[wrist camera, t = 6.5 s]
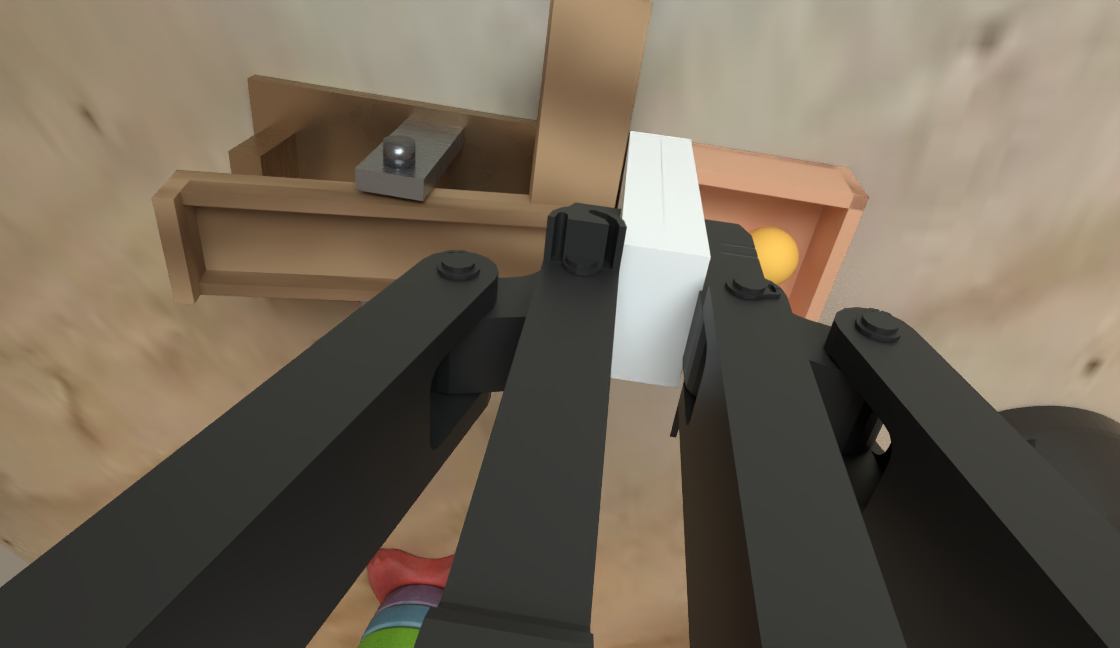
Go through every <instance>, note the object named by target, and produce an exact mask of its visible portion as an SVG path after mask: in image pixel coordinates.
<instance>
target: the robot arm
mask: <svg viewBox="0 0 1120 648" xmlns="http://www.w3.org/2000/svg"><path fill="white" fill-rule="evenodd" d="M498 274H499V272H498V269H497V265H496V264H495V263H494V262H492V261H491V260H490V259H489V258H487V257H484V256H482V255H479V254H477V253H471V252H467V251H465V250H457V251H455V250H447V251H444V252H440V253H435V254H432V255H430V256H428V257H426V258H424V259H422V260H421V261H420V262H418V263H417V264H416V265H414V266H413V267H412V268H411V269H409V270H408V271H407V272H405V273H404V274H403V275H402V276H400V277H399V278H398V279H396V280H395V281H394V282H393V283H391V284H390V285H389V286H387V287H386V288H385V289H384V290H382V291H381V292H380V293H378V294H377V295H376V296H375V297H373V298H372V299H371V300H369V301H368V302H367V303H366V304H364V305H363V306H362V307H360V308H359V309H358V310H357V311H355V312H354V313H353V314H351V315H350V316H349V317H348V318H346V319H345V320H344V321H342V322H341V323H340V324H339V325H337V326H336V327H335V328H333V329H332V330H331V331H330V332H328V333H327V334H326V335H324V336H323V337H322V338H321V339H319V340H318V341H317V342H315V343H314V344H313V345H312V346H310V347H309V348H308V349H306V350H305V351H304V352H303V353H301V354H300V355H299V356H297V357H296V358H295V359H294V360H292V361H291V362H290V363H288V364H287V365H286V366H285V367H283V368H282V369H281V370H279V371H278V372H277V373H276V374H274V375H273V376H272V377H270V378H269V379H268V380H267V381H265V382H264V383H263V384H261V385H260V386H259V387H258V388H256V389H255V390H254V391H252V392H251V393H250V394H249V395H247V396H246V397H245V398H243V399H242V400H241V401H240V402H238V403H237V404H236V405H234V406H233V407H232V408H231V409H229V410H228V411H227V412H225V413H224V414H223V415H222V416H220V417H219V418H218V419H217V420H215V421H214V422H213V423H211V424H210V425H209V426H208V427H206V428H205V429H204V430H202V431H201V432H200V433H199V434H197V435H196V436H195V437H193V438H192V439H191V440H190V441H188V442H187V443H186V444H184V445H183V446H182V447H181V448H179V449H178V450H177V451H175V452H174V453H173V454H172V455H170V456H169V457H168V458H166V459H165V460H164V461H163V462H161V463H160V464H159V465H157V466H156V467H155V468H154V469H152V470H151V471H150V472H148V473H147V474H146V475H145V476H143V477H142V478H141V479H139V480H138V481H137V482H136V483H134V484H133V485H132V486H130V487H129V488H128V489H127V490H125V491H124V492H123V493H121V494H120V495H119V496H118V497H116V498H115V499H114V500H112V501H111V502H110V503H109V504H107V505H106V506H105V507H103V508H102V509H101V510H100V511H98V512H97V513H96V514H94V515H93V516H92V517H91V518H89V519H88V520H87V521H85V522H84V523H83V524H82V525H80V526H79V527H78V528H76V529H75V530H74V531H73V532H71V533H70V534H69V535H67V536H66V537H65V538H64V539H62V540H61V541H60V542H58V543H57V544H56V545H55V546H53V547H52V548H51V549H49V550H48V551H47V552H46V553H44V554H43V555H42V556H40V557H39V558H38V559H37V560H35V561H34V562H33V563H31V564H30V565H29V566H28V567H26V568H25V569H24V570H22V571H21V572H20V573H19V574H17V575H16V576H15V577H13V578H12V579H11V580H10V581H8V582H7V583H6V584H4V585H3V586H2V587H1V588H0V648H305V647H306V646H307V644H308V643H309V642H310V640H311V639H312V638H313V636H314V635H315V634H316V633H317V631H318V630H319V629H320V627H321V626H322V625H323V623H324V622H325V621H326V619H327V618H328V617H329V615H330V614H331V613H332V611H333V610H334V609H335V607H336V606H337V605H338V603H339V602H340V601H341V599H342V598H343V597H344V595H345V594H346V593H347V591H348V590H349V589H350V587H351V586H352V585H353V583H354V582H355V581H356V579H357V578H358V577H359V575H360V574H361V573H362V571H363V570H364V569H365V567H366V566H367V565H368V563H369V562H370V561H371V559H372V558H373V557H374V555H375V554H376V553H377V551H378V550H379V549H380V547H381V546H382V545H383V544H384V542H385V541H386V540H387V538H388V537H389V536H390V534H391V533H392V532H393V530H394V529H395V528H396V526H397V525H398V524H399V522H400V521H401V520H402V518H403V517H404V516H405V514H406V513H407V512H408V510H409V509H410V508H411V506H412V505H413V504H414V502H415V501H416V500H417V498H418V497H419V496H420V494H421V493H422V492H423V490H424V489H425V488H426V486H427V485H428V484H429V482H430V481H431V480H432V478H433V477H434V476H435V474H436V473H437V472H438V470H439V469H440V468H441V466H442V465H443V464H444V462H445V461H446V460H447V458H448V457H449V456H450V455H451V453H452V452H453V451H454V449H455V448H456V447H457V445H458V444H459V443H460V441H461V440H462V439H463V437H464V436H465V435H466V433H467V432H468V431H469V429H470V428H471V427H472V425H473V424H474V423H475V421H476V420H477V419H478V417H479V416H480V415H481V413H482V412H483V411H484V409H485V408H486V407H487V405H488V403H489V400H490V398H491V392H499V391H504V392H503V396H502V399H501V402H500V406H499V409H498V412H497V416H496V419H495V422H494V426H493V429H492V432H491V436H490V439H489V442H488V446H487V449H486V452H485V456H484V459H483V462H482V466H481V469H480V472H479V476H478V479H477V482H476V486H475V489H474V492H473V496H472V499H471V502H470V506H469V509H468V512H467V516H466V519H465V522H464V526H463V529H462V532H461V535H460V539H459V542H458V545H457V549H456V552H455V555H454V559H453V562H452V565H451V569H450V572H449V575H448V579H447V582H446V585H445V589H444V592H443V595H442V597H441V600H440V602H439V604H438V606H437V607H430V608H429V610H428V612H427V614H426V615H425V617H424V620H423V622H422V625H421V628H420V630H419V633H418V636H417V639H416V642H415V645H414V648H594V643H593V634H592V633H590V622H591V608H592V596H593V584H594V572H595V560H596V548H597V536H598V523H599V511H600V499H601V487H602V475H603V463H604V451H605V439H606V427H607V415H608V403H609V390H610V378H615V379H622V380H628V381H634V382H641V383H647V384H654V385H660V386H667V387H673V388H678V384H679V381H680V377H681V373H682V369H683V371H684V383H683V387H682V391H681V395H680V399H679V403H678V407H677V411H676V414H675V418H674V422H673V426H672V430H671V434H670V437H676V436H677V433H678V430H679V432H680V453H681V474H682V494H683V515H684V535H685V556H686V576H687V597H688V618H689V638H690V648H1120V423H1118V422H1116V421H1114V420H1112V419H1111V418H1108V417H1106V416H1104V415H1101V414H1098V413H1095V412H1092V411H1088V410H1083V409H1078V408H1072V407H1062V406H1035V407H1025V408H1017V409H1012V410H1007V411H1002V412H997V411H996V410H995V409H994V408H993V407H992V406H991V405H990V404H989V403H988V402H987V401H986V400H985V399H984V398H983V397H982V396H981V395H980V394H979V393H978V392H977V391H976V390H975V389H974V388H973V387H972V386H971V385H970V384H969V383H968V382H967V381H966V380H965V379H964V378H963V377H962V376H961V375H960V374H959V373H958V372H957V371H956V370H955V369H954V368H953V367H952V366H951V365H950V364H949V363H948V362H947V361H946V360H945V359H944V358H943V357H942V356H941V355H940V354H938V353H937V352H936V351H935V350H934V349H933V348H932V347H931V346H930V345H929V344H928V343H927V342H926V341H925V340H924V339H923V338H922V337H921V336H920V335H919V334H918V333H917V332H916V331H915V330H914V329H913V328H911V327H910V326H909V325H907V324H906V323H905V322H904V321H902V320H900V319H897V318H895V317H893V316H892V315H891V314H890V313H887V312H884V311H881V312H880V311H879V310H878V309H873V308H868V309H867V308H859V307H854V308H844V309H843V310H841V311H839V312H837V313H836V315H835V318H834V321H833V323H832V326H827V325H824V324H821V323H818V322H815V321H811V320H808V319H806V318H803V317H800V316H798V315H795V314H794V313H793V312H792V309H791V307H790V304H789V301H788V298H787V295H786V294H785V292H784V291H783V290H782V288H781V287H779V286H778V285H776V284H775V283H773V282H772V281H770V280H768V279H765V278H764V274H763V271H762V268H761V265H760V261H759V259H758V255H757V251H756V249H755V245H754V241H753V238H752V235H751V234H749V233H748V232H747V231H746V230H745V229H744V228H743V227H742V226H741V225H739V224H735V223H728V222H721V221H714V220H707V219H704V214H703V208H702V203H701V197H700V191H699V185H698V179H697V173H696V167H695V161H694V155H693V149H692V143H691V139H685V138H677V137H670V136H663V135H656V134H649V133H641V132H634V131H630V137H629V143H628V150H627V156H626V162H625V168H624V174H623V181H622V187H621V193H620V199H619V205H618V208H611V207H604V206H597V205H590V204H583V203H576V202H575V203H574V204H572V205H571V206H567V207H561V208H558V209H555V210H553V211H552V212H551V213H550V214H549V215H548V218H547V228H546V238H545V247H544V257H543V263H542V266H541V269H540V271H538V272H536V273H533V274H530V275H526V276H521V277H504V278H498ZM883 424H884V425H885V427H886V429H887V430H888V432H889V434H890V438H891V444H890V446H889V448H888V449H887V450H886V452H884V451H883V450H882V449H881V447H880V446H879V445H878V443H877V442H876V441H875V440H876V438H877V436H878V433H879V431H880V429H881V427H882V425H883Z"/></svg>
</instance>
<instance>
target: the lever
mask: <svg viewBox="0 0 1120 648" xmlns="http://www.w3.org/2000/svg"><path fill="white" fill-rule="evenodd" d="M652 6H653V3H652V2H650V1H649V0H551V1H550V10H549V19H548V28H547V37H546V46H545V56H544V65H543V74H542V83H541V92H540V101H539V110H538V119H537V128H536V137H535V146H534V155H533V164H532V173H531V182H530V191H529V195H524V194H510V193H496V192H482V191H468V190H453V189H439V188H432V190H431V191H430V193H429V194H428V195H427V197H426V198H425V199H424V201H419V200H413V199H407V198H401V197H395V196H389V195H383V194H377V193H371V192H365V191H359V190H356V183H355V182H340V181H326V180H312V179H298V178H284V177H270V176H256V175H242V174H227V173H213V172H199V171H185V170H177V171H176V172H175V173H174V174H173V175H172V176H171V177H170V178H169V180H168V181H167V182H166V183H165V184H164V185H163V186H162V187H161V188H160V189H159V191H158V192H157V193H156V194H155V195H154V196H153V197H152V202H153V206H154V211H155V215H156V220H157V224H158V229H159V234H160V238H161V243H162V247H163V252H164V256H165V261H166V265H167V270H168V274H169V279H170V283H171V288H172V292H173V297H174V301H175V303H181V304H195V302H196V301H197V299H198V297H199V296H200V295H224V296H249V297H273V298H298V299H322V300H347V301H369V300H371V299H372V298H373V297H375V296H376V295H377V294H378V293H380V292H381V291H382V290H384V289H385V288H386V287H387V286H389V285H390V284H391V283H393V282H394V281H395V280H396V279H398V278H399V277H400V276H402V275H403V274H404V273H405V272H407V271H408V270H409V269H411V268H412V267H413V266H414V265H416V264H417V263H418V262H420V261H421V260H422V259H424V258H426V257H428V256H430V255H432V254H435V253H440V252H444V251H447V250H455V251H457V250H465V251H467V252H471V253H477V254H479V255H482V256H484V257H487V258H489V259H490V260H491V261H492V262H494V263H495V264H496V265H497V269H498V272H499V274H498V278H504V277H521V276H526V275H530V274H533V273H536V272H538V271H540V269H541V266H542V263H543V257H544V247H545V238H546V228H547V218H548V215H549V214H550V213H551V212H552V211H553V210H555V209H558V208H561V207H567V206H571V205H572V204H574V203H575V202H576V203H583V204H590V205H597V206H604V207H611V208H615V202H616V197H617V192H618V187H619V181H620V176H621V171H622V165H623V160H624V155H625V149H626V144H627V139H628V133H629V128H630V123H631V118H632V112H633V107H634V102H635V96H636V91H637V86H638V80H639V75H640V70H641V64H642V59H643V54H644V49H645V43H646V38H647V33H648V27H649V22H650V17H651V11H652Z"/></svg>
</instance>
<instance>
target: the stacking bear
mask: <svg viewBox="0 0 1120 648" xmlns="http://www.w3.org/2000/svg"><path fill="white" fill-rule="evenodd" d="M454 555H455V554H454ZM454 555H452V556H449V557H446V558H442V559H424V558H419V557H415V556H412V555H410V554H408V553H405V552H403V551H400V550H397V549H380V550H378V551H377V553H376V554H375V555H374V557H373V558H372V559H371V561H370V562H369V563H368V566H367V571H368V577H369V581H370V584H371V587H372V590H373V591H374V593H375V595H376V597H377V599H378V601H379V602H380V604H381V605H380V606H379V608H378V610H377V612H376V613H375V615H374V617H373V618H372V620H371V621H370V623H369V625H368V627H367V628H366V630H365V632H364V634H363V636H362V638H361V641H360V644H359V645H358V648H414V645H415V642H416V639H417V636H418V633H419V630H420V628H421V625H422V622H423V620H424V617H425V615H426V614H427V612H428V610H429V608H430V607H437V606H438V604H439V602H440V600H441V597H442V595H443V592H444V589H445V585H446V582H447V579H448V575H449V572H450V569H451V565H452V562H453V559H454Z"/></svg>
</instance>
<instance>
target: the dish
mask: <svg viewBox="0 0 1120 648" xmlns="http://www.w3.org/2000/svg"><path fill="white" fill-rule="evenodd" d="M691 143H692V142H691ZM692 149H693V155H694V161H695V167H696V173H697V179H698V185H699V191H700V197H701V203H702V208H703V214H704V219H707V220H714V221H721V222H728V223H735V224H739V225H741V226H742V227H743V228H744V229H745V230H746V231H747V232H748V233H749V232H751V231H753V230H755V229H757V228H760V227H776V228H779V229H782V230H784V231H785V232H787V233H788V234H789V235H790V236H791V237H792V238H793V239H794V241H795V243H796V245H797V247H798V252H799V260H798V265H797V267H796V269H795V271H794V273H793V274H792V276H791V277H790V278H789V279H788V280H786V281H785V282H783V283H781V284H779V285H778V286H779V287H781V288H782V290H783V291H784V292H785V294H786V295H787V298H788V301H789V304H790V307H791V309H792V312H793V313H794V314H795V315H798V316H800V317H803V318H806V319H808V320H811V321H815V322H818V320H819V318H820V315H821V313H822V311H823V308H824V306H825V303H826V301H827V298H828V296H829V293H830V291H831V289H832V286H833V284H834V281H835V279H836V276H837V274H838V272H839V269H840V267H841V264H842V262H843V259H844V257H845V255H846V252H847V250H848V247H849V245H850V242H851V240H852V238H853V235H854V233H855V230H856V228H857V225H858V223H859V221H860V218H861V216H862V213H863V211H864V208H865V206H866V204H867V201H868V199H869V196H868V195H867V194H866V192H865V191H864V190H863V188H862V187H861V185H860V184H859V183H858V181H857V180H856V179H855V177H854V176H853V174H852V173H851V172H850V170H849V169H848V168H845V167H839V166H833V165H827V164H821V163H815V162H809V161H803V160H796V159H790V158H784V157H778V156H772V155H766V154H760V153H754V152H747V151H741V150H735V149H729V148H723V147H717V146H711V145H705V144H699V143H692ZM627 150H628V148H627ZM626 156H627V154H626ZM625 162H626V159H625ZM624 168H625V164H624ZM623 174H624V170H623ZM622 181H623V175H622V180H621V185H620V191H619V196H618V201H617V206H616V208H618V205H619V199H620V193H621V187H622Z"/></svg>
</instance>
